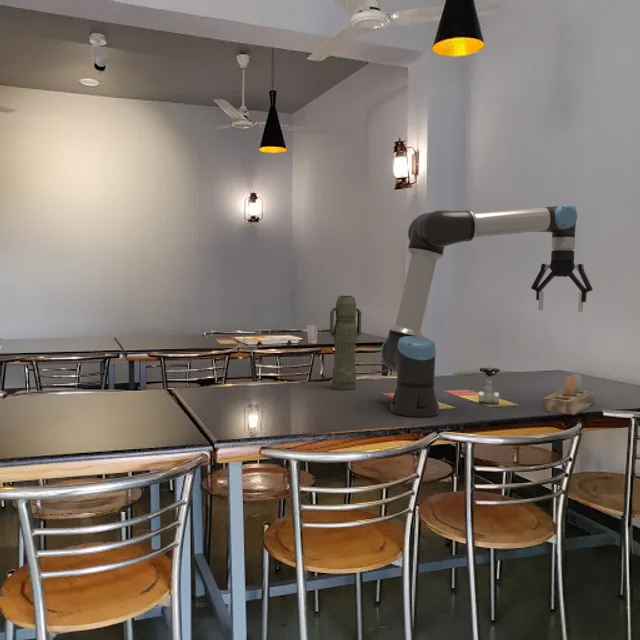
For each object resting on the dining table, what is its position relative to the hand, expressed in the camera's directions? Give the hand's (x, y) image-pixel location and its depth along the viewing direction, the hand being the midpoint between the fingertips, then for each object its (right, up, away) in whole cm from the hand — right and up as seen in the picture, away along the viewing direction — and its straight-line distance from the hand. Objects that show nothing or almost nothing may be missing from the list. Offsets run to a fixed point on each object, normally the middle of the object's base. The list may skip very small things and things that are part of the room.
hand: (560, 310), depth 223 cm
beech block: (0, -32, -9) cm, 34 cm away
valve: (-27, -32, -6) cm, 42 cm away
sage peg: (+4, -32, -3) cm, 32 cm away
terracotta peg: (-1, -32, -9) cm, 34 cm away
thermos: (-75, -29, +18) cm, 82 cm away
